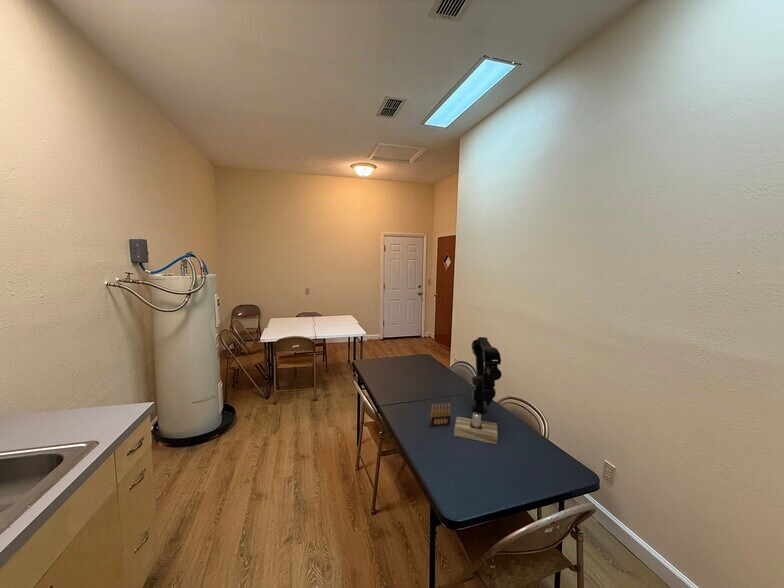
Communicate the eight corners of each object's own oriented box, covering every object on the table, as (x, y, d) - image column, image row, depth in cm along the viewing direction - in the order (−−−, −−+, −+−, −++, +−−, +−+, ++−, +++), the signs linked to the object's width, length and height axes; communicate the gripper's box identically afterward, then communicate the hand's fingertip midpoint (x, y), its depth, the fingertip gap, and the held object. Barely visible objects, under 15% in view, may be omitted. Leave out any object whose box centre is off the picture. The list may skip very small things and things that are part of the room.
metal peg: (471, 430, 161) (472, 411, 159) (479, 432, 160) (481, 413, 158) (471, 434, 157) (472, 415, 156) (479, 436, 156) (480, 417, 154)
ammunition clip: (430, 426, 163) (431, 404, 162) (429, 424, 165) (430, 403, 164) (450, 425, 165) (451, 403, 164) (449, 423, 167) (450, 401, 165)
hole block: (456, 423, 167) (456, 416, 166) (496, 430, 161) (496, 423, 161) (454, 436, 155) (454, 428, 155) (497, 444, 150) (497, 436, 149)
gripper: (474, 364, 174) (472, 391, 176) (472, 377, 156) (470, 407, 158) (495, 367, 171) (493, 394, 173) (496, 380, 153) (494, 410, 155)
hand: (487, 401), depth 165 cm, fingers open, 9 cm apart
